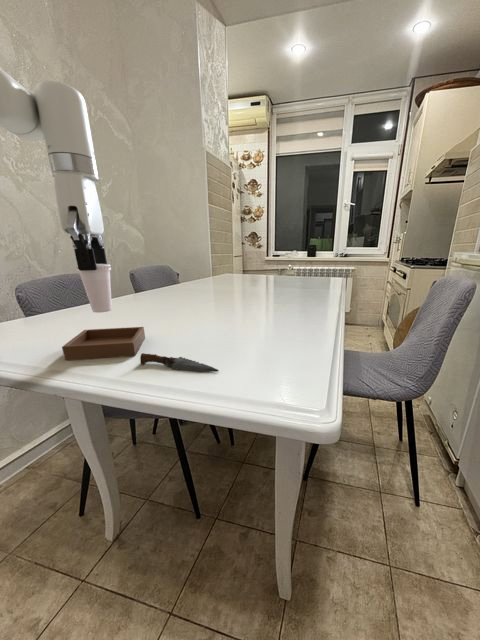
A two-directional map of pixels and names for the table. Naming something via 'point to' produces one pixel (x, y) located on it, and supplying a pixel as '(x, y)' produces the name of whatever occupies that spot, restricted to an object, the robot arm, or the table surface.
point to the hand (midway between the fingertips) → (93, 268)
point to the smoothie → (98, 287)
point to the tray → (104, 343)
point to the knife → (176, 363)
